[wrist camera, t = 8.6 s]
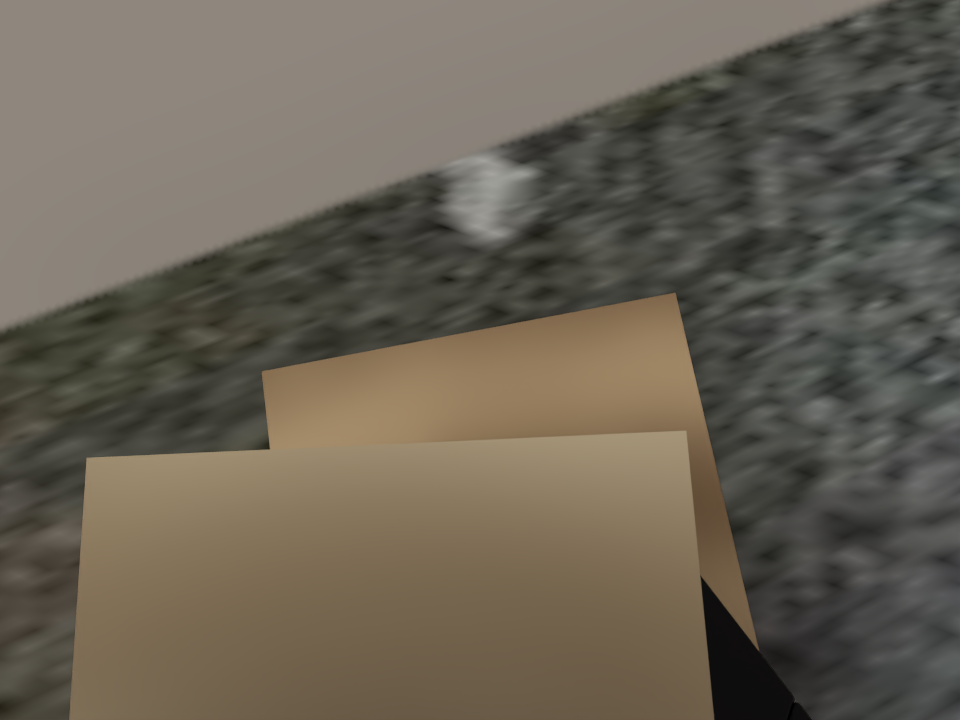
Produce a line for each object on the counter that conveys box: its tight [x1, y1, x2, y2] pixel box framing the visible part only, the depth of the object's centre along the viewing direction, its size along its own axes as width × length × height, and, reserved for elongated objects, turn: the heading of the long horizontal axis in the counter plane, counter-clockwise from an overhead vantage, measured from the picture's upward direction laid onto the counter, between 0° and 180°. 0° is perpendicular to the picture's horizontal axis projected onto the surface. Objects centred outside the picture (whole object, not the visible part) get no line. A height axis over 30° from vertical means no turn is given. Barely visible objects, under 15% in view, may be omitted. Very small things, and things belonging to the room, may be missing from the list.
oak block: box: [262, 293, 759, 650], centre depth 18 cm, size 12×12×3 cm
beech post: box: [69, 431, 714, 720], centre depth 11 cm, size 5×5×12 cm
